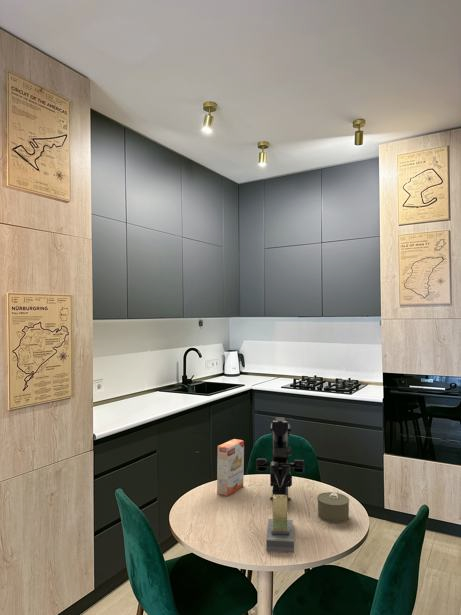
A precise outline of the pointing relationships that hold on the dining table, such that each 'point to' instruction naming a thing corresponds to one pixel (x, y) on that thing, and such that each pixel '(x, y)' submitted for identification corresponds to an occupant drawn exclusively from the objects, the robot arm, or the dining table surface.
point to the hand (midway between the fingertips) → (280, 487)
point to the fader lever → (280, 515)
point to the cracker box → (230, 466)
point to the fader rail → (280, 539)
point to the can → (333, 507)
